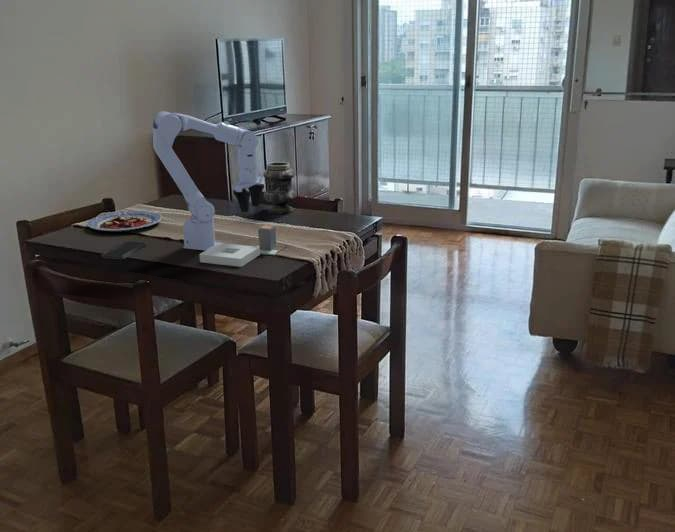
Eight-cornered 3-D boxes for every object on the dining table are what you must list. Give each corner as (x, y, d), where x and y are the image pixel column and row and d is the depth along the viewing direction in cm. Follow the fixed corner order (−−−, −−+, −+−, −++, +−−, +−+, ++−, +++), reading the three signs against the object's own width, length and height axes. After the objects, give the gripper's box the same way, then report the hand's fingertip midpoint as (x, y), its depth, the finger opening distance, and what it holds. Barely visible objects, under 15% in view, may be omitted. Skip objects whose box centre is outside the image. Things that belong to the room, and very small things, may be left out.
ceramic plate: (136, 238, 235) (135, 229, 234) (72, 232, 243) (71, 224, 242) (175, 219, 258) (175, 211, 257) (116, 214, 266) (115, 207, 265)
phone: (147, 243, 227) (121, 257, 213) (147, 246, 227) (122, 260, 213) (126, 241, 229) (99, 255, 215) (126, 244, 229) (99, 258, 215)
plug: (259, 249, 219) (258, 228, 217) (264, 245, 222) (263, 224, 220) (271, 250, 218) (269, 229, 215) (276, 247, 221) (275, 225, 219)
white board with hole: (200, 262, 209) (199, 254, 209) (220, 250, 220) (219, 242, 219) (241, 266, 205) (240, 258, 204) (259, 254, 215) (259, 247, 214)
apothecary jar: (299, 206, 272) (298, 160, 266) (290, 214, 260) (288, 166, 255) (270, 205, 274) (268, 160, 268) (260, 213, 263) (257, 166, 257)
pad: (248, 252, 218) (248, 251, 218) (261, 244, 226) (261, 243, 225) (274, 255, 215) (274, 253, 214) (286, 246, 222) (286, 245, 222)
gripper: (248, 172, 215) (250, 215, 220) (269, 164, 228) (271, 204, 233) (228, 171, 218) (231, 213, 222) (249, 163, 231) (252, 203, 235)
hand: (250, 208), depth 228 cm, fingers open, 7 cm apart
